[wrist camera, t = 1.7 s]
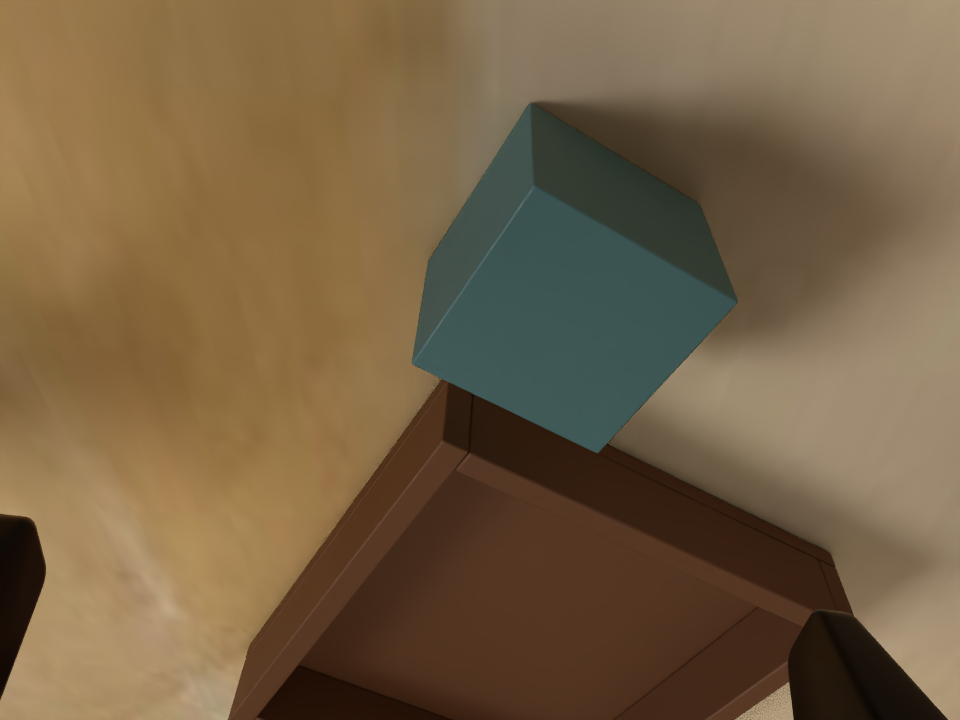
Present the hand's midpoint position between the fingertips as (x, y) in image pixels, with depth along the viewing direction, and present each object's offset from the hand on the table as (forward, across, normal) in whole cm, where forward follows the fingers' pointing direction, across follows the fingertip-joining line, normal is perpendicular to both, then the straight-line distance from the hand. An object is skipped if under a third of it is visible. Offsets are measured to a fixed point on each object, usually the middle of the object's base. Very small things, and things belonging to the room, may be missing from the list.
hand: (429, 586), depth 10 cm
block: (+13, -2, +2) cm, 13 cm away
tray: (+13, -4, +17) cm, 22 cm away
